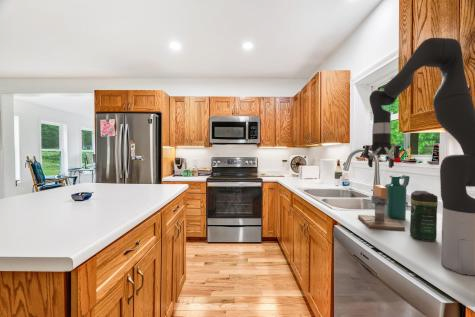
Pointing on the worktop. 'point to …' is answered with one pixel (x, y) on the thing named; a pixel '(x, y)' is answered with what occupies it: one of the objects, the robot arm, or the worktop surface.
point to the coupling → (380, 195)
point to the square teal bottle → (396, 197)
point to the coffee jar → (423, 215)
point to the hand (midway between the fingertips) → (380, 167)
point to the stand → (380, 220)
